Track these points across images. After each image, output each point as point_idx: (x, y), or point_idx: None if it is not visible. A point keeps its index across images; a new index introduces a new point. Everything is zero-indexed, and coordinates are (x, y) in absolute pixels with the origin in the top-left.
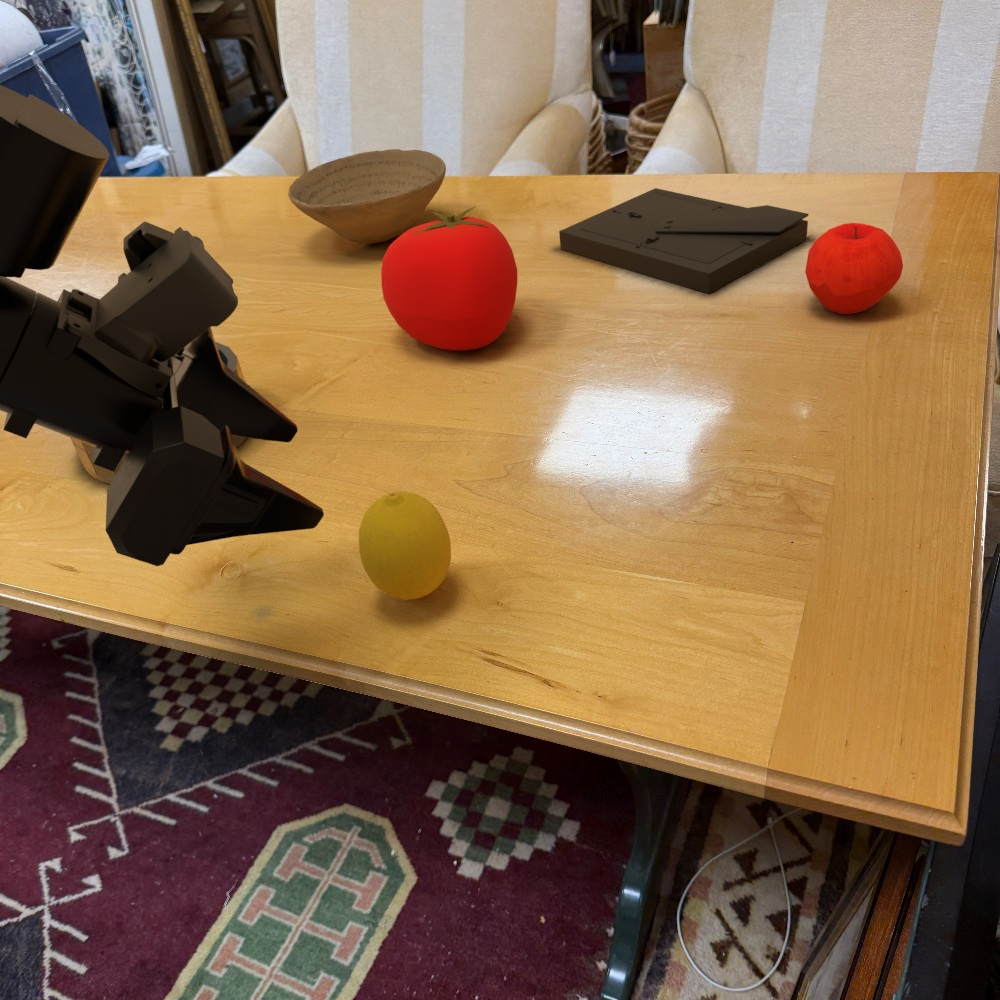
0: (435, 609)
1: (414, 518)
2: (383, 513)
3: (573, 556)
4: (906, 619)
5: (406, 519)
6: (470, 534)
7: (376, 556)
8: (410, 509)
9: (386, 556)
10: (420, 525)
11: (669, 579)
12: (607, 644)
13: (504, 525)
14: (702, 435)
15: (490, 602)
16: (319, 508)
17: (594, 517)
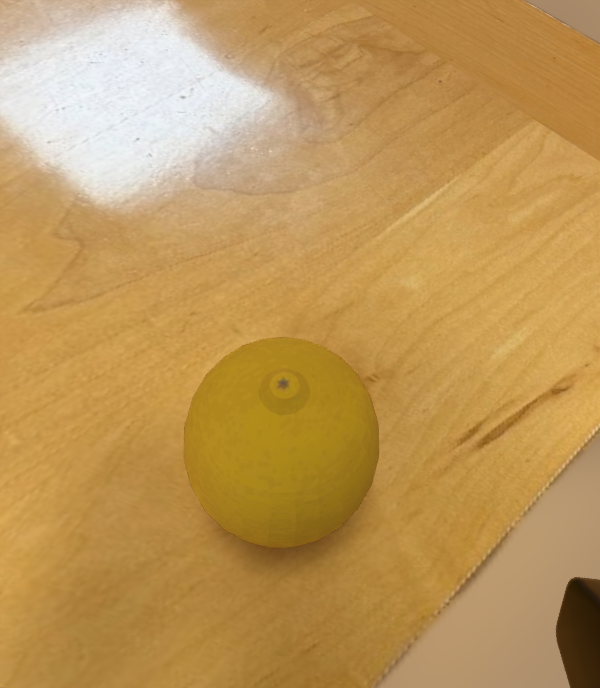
0: None
1: (346, 380)
2: (309, 431)
3: (330, 254)
4: (590, 77)
5: (347, 396)
6: (184, 347)
7: (341, 506)
8: (327, 374)
9: (360, 486)
10: (354, 381)
11: (436, 192)
12: (517, 298)
13: (200, 297)
14: (199, 42)
15: None
16: (597, 586)
17: (268, 199)
